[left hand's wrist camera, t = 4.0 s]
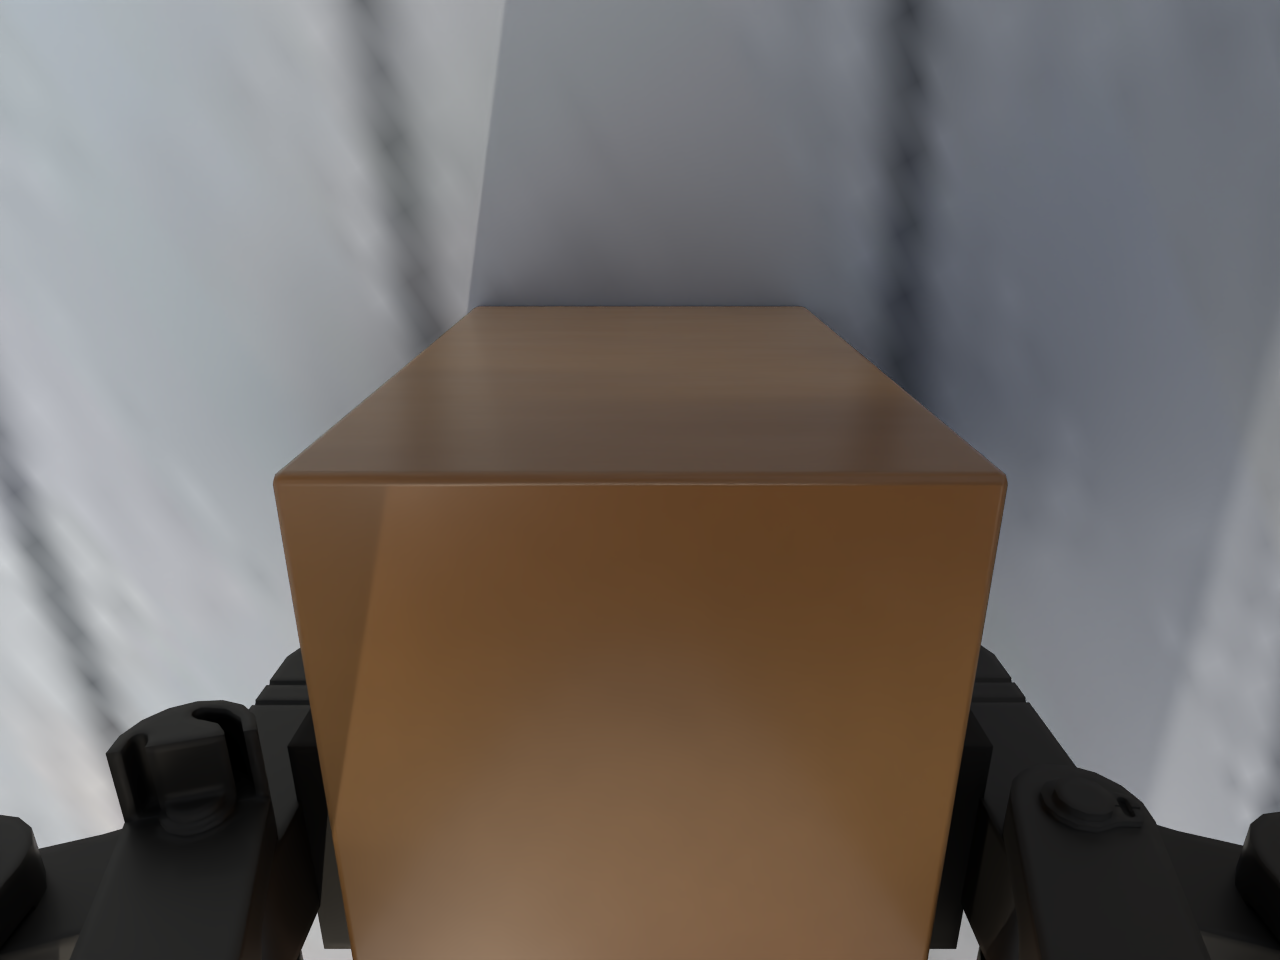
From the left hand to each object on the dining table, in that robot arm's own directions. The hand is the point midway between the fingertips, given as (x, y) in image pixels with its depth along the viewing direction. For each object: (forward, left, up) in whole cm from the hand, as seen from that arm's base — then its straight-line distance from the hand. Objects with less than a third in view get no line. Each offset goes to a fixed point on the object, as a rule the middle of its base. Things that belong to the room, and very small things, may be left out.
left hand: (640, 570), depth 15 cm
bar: (-3, +31, -1) cm, 31 cm away
